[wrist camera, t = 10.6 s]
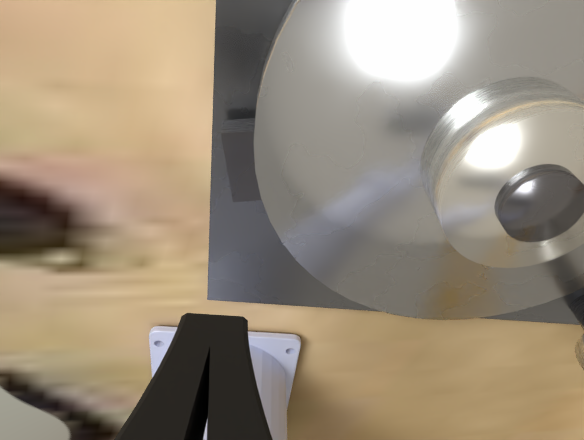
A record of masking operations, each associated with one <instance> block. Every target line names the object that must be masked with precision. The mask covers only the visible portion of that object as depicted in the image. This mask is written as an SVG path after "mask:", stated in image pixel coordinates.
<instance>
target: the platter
mask: <svg viewBox="0 0 584 440" xmlns="http://www.w3.org/2000/svg"><path fill="white" fill-rule="evenodd" d="M516 77H537V78H543V79H547V80H551V81H554V82H556V83H558V84H561V85H562V86H564V87H565V88H567V89H568V90H570V91H571V92H572V93H574V94H575V95H576V96H578V97H579V98H580V99H582V100H583V101H584V0H292V1H291V3H290V5H289V7H288V9H287V11H286V13H285V15H284V16H283V18H282V20H281V22H280V24H279V26H278V28H277V30H276V33H275V35H274V38H273V41H272V44H271V46H270V49H269V52H268V54H267V57H266V60H265V63H264V67H263V72H262V76H261V80H260V85H259V89H258V94H257V105H256V117H255V118H248V119H235V120H223V124H222V129H221V138H222V144H223V149H224V155H225V161H226V166H227V172H228V177H229V183H230V189H231V194H232V200H233V202H245V201H258V200H262V202H263V204H264V207H265V209H266V212H267V215H268V217H269V220H270V222H271V224H272V226H273V227H274V229H275V231H276V233H277V234H278V236H279V238H280V240H281V241H282V243H283V244H284V246H285V247H286V248H287V249H288V251H289V252H290V253H291V254H292V256H293V257H294V258H295V260H296V261H297V262H298V263H299V264H300V265H301V266H303V267H304V268H305V269H306V270H307V271H308V272H309V273H310V274H311V275H312V276H313V277H315V278H316V279H317V280H319V281H320V282H321V283H323V284H324V285H326V286H327V287H328V288H330V289H331V290H333V291H335V292H337V293H339V294H340V295H342V296H344V297H346V298H348V299H350V300H352V301H354V302H357V303H359V304H362V305H364V306H367V307H369V308H372V309H376V310H379V311H383V312H387V313H390V314H394V315H400V316H406V317H413V318H421V319H437V320H452V319H471V318H480V317H489V316H495V315H500V314H505V313H510V312H515V311H519V310H522V309H526V308H530V307H533V306H537V305H540V304H543V303H546V302H549V301H552V300H554V299H557V298H560V297H563V296H565V295H568V294H570V293H572V292H575V291H577V290H579V289H581V288H583V287H584V244H582V245H580V246H579V247H577V248H576V249H574V250H572V251H570V252H568V253H566V254H564V255H562V256H560V257H557V258H555V259H552V260H549V261H546V262H543V263H540V264H535V265H531V266H525V267H518V268H498V267H491V266H485V265H482V264H479V263H476V262H474V261H471V260H469V259H467V258H466V257H464V256H463V255H461V254H460V253H459V252H458V251H456V250H455V249H454V248H453V246H452V245H451V244H450V243H449V241H448V239H447V237H446V235H445V233H444V231H443V229H442V227H441V225H440V223H439V221H438V219H437V216H436V214H435V212H434V210H433V208H432V206H431V204H430V201H429V199H428V197H427V195H426V193H425V191H424V188H423V185H422V182H421V176H420V163H421V156H422V152H423V149H424V146H425V144H426V141H427V139H428V137H429V135H430V133H431V132H432V130H433V128H434V127H435V125H436V124H437V123H438V122H439V120H440V119H441V118H442V117H443V115H444V114H445V113H446V112H447V111H448V110H449V109H450V108H451V107H453V106H454V105H455V104H456V103H457V102H459V101H460V100H461V99H463V98H464V97H466V96H467V95H469V94H470V93H472V92H474V91H476V90H478V89H480V88H481V87H484V86H486V85H489V84H491V83H494V82H497V81H501V80H504V79H510V78H516Z"/></svg>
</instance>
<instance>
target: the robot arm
mask: <svg viewBox="0 0 584 440" xmlns="http://www.w3.org/2000/svg"><path fill="white" fill-rule="evenodd" d="M149 343H150V355H151V367H152V379H151V381H150V383H149V385H148V386H147V388H146V390H145V392H144V393H143V395H142V397H141V399H140V400H139V402H138V404H137V405H136V407H135V408H134V410H133V412H132V413H131V415H130V416H129V418H128V419H127V421H126V422H125V424H124V425H123V427H122V428H121V430H120V432H119V433H118V435H117V436H116V438H115V439H114V440H287V408H288V403H289V398H290V394H291V389H292V384H293V380H294V375H295V370H296V366H297V361H298V356H299V352H300V347H301V339H300V337H299V336H297V335H295V334H282V333H266V332H250V331H248V321H247V320H246V319H245V318H244V317H240V316H224V315H209V314H193V313H186V314H185V315H183V316H182V317H181V320H180V322H179V325H178V327H168V326H155V327H153V328H152V329H151V331H150V334H149ZM289 348H290V349H289Z"/></svg>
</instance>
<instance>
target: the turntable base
mask: <svg viewBox="0 0 584 440" xmlns="http://www.w3.org/2000/svg"><path fill="white" fill-rule="evenodd" d="M291 1H292V0H216V21H215V56H214V90H213V125H212V160H211V194H210V229H209V263H208V298H207V300H219V301H234V302H249V303H264V304H279V305H293V306H308V307H323V308H338V309H353V310H368V311H379V310H376V309H372V308H369V307H367V306H364V305H362V304H359V303H357V302H354V301H352V300H350V299H348V298H346V297H344V296H342V295H340V294H339V293H337V292H335V291H333V290H331V289H330V288H328V287H327V286H326V285H324V284H323V283H321V282H320V281H319V280H317V279H316V278H315V277H313V276H312V275H311V274H310V273H309V272H308V271H307V270H306V269H305V268H304V267H303V266H301V265H300V264H299V263H298V262H297V261H296V260H295V258H294V257H293V256H292V254H291V253H290V252H289V251H288V249H287V248H286V247H285V246H284V244H283V243H282V241H281V240H280V238H279V236H278V234H277V233H276V231H275V229H274V227H273V226H272V224H271V222H270V220H269V217H268V215H267V212H266V209H265V207H264V204H263V202H262V200H258V201H245V202H233V200H232V194H231V189H230V183H229V177H228V172H227V166H226V161H225V155H224V149H223V144H222V138H221V129H222V124H223V120H235V119H248V118H255V117H256V105H257V94H258V89H259V85H260V80H261V76H262V72H263V67H264V63H265V60H266V57H267V54H268V52H269V49H270V46H271V44H272V41H273V38H274V35H275V33H276V30H277V28H278V26H279V24H280V22H281V20H282V18H283V16H284V15H285V13H286V11H287V9H288V7H289V5H290V3H291ZM480 318H487V319H502V320H517V321H532V322H547V323H561V324H576V325H581V326H582V328H583V329H584V287H583V288H581V289H579V290H577V291H575V292H572V293H570V294H568V295H565V296H563V297H560V298H557V299H554V300H552V301H549V302H546V303H543V304H540V305H537V306H533V307H530V308H526V309H522V310H519V311H515V312H510V313H505V314H500V315H495V316H489V317H480ZM575 353H576V357H577V359H578V362H579V363H580V365H581V367H582V368H583V369H584V334H583V335H582V337H581V338H580V339H579V341H578V342H577V344H576V347H575Z"/></svg>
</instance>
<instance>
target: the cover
mask: <svg viewBox="0 0 584 440" xmlns="http://www.w3.org/2000/svg"><path fill="white" fill-rule="evenodd" d="M420 176H421V182H422V185H423V188H424V191H425V193H426V195H427V197H428V199H429V201H430V204H431V206H432V208H433V210H434V212H435V214H436V216H437V219H438V221H439V223H440V225H441V227H442V229H443V231H444V233H445V235H446V237H447V239H448V241H449V243H450V244H451V245H452V246H453V248H454V249H455V250H456V251H458V252H459V253H460V254H461V255H463V256H464V257H466V258H467V259H469V260H471V261H474V262H476V263H479V264H482V265H485V266H491V267H498V268H518V267H525V266H531V265H535V264H540V263H543V262H546V261H549V260H552V259H555V258H557V257H560V256H562V255H564V254H566V253H568V252H570V251H572V250H574V249H576V248H577V247H579V246H580V245H582V244H584V101H583V100H582V99H580V98H579V97H578V96H576V95H575V94H574V93H572V92H571V91H570V90H568V89H567V88H565V87H564V86H562V85H561V84H558V83H556V82H554V81H551V80H547V79H543V78H537V77H516V78H510V79H504V80H501V81H497V82H494V83H491V84H489V85H486V86H484V87H481V88H480V89H478V90H476V91H474V92H472V93H470V94H469V95H467V96H466V97H464V98H463V99H461V100H460V101H459V102H457V103H456V104H455V105H454V106H453V107H451V108H450V109H449V110H448V111H447V112H446V113H445V114H444V115H443V117H442V118H441V119H440V120H439V122H438V123H437V124H436V125H435V127H434V128H433V130H432V132H431V133H430V135H429V137H428V139H427V141H426V144H425V146H424V149H423V152H422V156H421V163H420Z"/></svg>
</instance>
